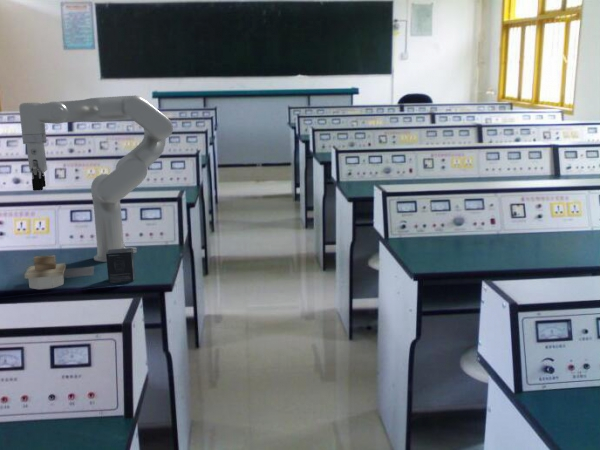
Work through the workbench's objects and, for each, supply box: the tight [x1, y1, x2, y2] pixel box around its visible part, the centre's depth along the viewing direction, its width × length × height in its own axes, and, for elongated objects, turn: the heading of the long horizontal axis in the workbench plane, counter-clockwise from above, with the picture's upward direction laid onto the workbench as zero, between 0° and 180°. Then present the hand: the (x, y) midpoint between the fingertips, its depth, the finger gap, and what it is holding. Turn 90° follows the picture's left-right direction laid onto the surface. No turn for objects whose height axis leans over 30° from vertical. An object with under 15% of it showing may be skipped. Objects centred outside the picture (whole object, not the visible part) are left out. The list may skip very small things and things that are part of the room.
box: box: [106, 248, 136, 284], centre depth 200 cm, size 8×6×11 cm
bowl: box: [27, 275, 65, 290], centre depth 197 cm, size 10×10×4 cm
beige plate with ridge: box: [24, 254, 67, 279], centre depth 196 cm, size 11×11×5 cm
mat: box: [63, 266, 95, 279], centre depth 211 cm, size 12×12×1 cm
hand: (39, 188), depth 215 cm, fingers open, 9 cm apart
